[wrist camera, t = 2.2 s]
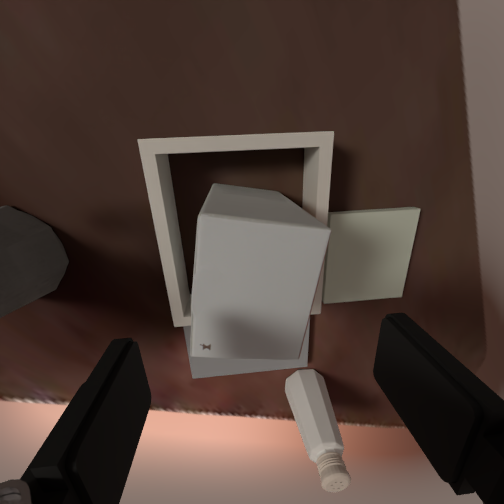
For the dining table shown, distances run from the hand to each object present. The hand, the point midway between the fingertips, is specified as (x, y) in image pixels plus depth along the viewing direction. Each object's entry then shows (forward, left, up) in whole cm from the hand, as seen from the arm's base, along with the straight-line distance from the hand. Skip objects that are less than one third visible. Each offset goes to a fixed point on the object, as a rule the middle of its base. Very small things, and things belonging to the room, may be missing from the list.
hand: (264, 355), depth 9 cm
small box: (0, 0, -16) cm, 16 cm away
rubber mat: (+4, +13, -16) cm, 21 cm away
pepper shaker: (+22, +7, -16) cm, 28 cm away
